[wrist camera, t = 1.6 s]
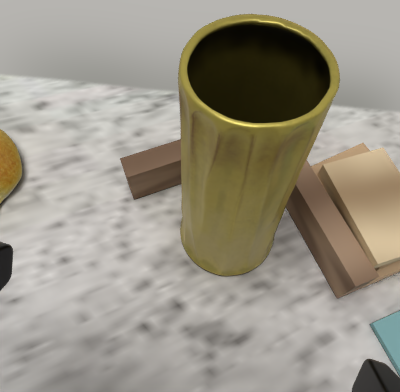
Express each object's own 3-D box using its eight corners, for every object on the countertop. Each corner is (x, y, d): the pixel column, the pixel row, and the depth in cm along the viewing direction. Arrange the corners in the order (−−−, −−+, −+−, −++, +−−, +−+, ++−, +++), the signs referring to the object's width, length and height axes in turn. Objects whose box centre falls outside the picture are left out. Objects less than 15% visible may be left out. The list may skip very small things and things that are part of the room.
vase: (289, 256, 24) (393, 106, 11) (200, 291, 23) (206, 170, 10) (248, 179, 27) (297, -12, 14) (167, 208, 25) (139, 28, 13)
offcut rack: (427, 259, 24) (463, 239, 21) (191, 361, 21) (190, 356, 18) (327, 116, 29) (343, 82, 26) (127, 181, 26) (118, 153, 23)
